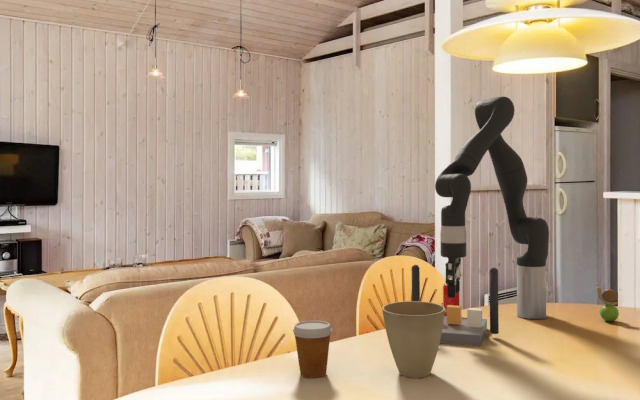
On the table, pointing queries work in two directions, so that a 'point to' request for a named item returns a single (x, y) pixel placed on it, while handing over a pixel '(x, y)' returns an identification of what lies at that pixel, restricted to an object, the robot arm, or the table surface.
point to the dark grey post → (494, 301)
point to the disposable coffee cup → (312, 347)
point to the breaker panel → (465, 329)
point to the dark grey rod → (415, 283)
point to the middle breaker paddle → (454, 314)
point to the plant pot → (414, 335)
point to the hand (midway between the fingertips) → (453, 294)
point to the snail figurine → (608, 304)
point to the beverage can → (449, 299)
